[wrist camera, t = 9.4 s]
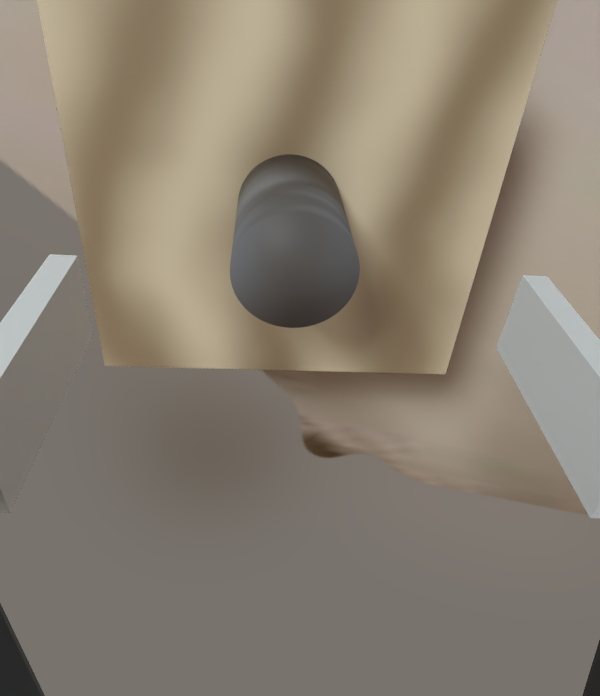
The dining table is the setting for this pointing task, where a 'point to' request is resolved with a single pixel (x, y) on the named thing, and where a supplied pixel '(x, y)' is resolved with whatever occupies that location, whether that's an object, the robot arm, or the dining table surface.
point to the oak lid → (287, 172)
